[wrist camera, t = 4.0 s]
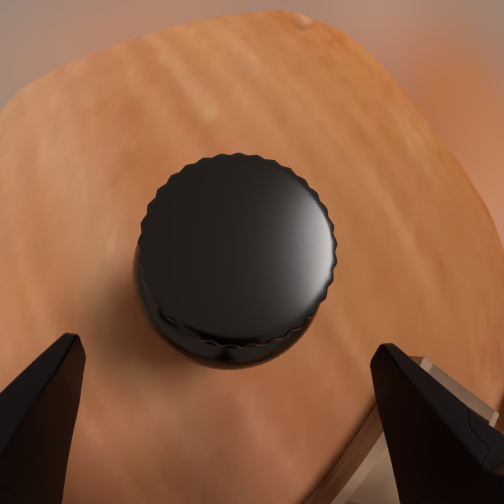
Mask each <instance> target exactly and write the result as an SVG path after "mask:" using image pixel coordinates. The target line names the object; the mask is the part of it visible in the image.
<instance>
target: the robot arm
mask: <svg viewBox="0 0 504 504" xmlns="http://www.w3.org/2000/svg"><path fill="white" fill-rule="evenodd" d="M85 360H86V355H85V351H84V348H83V345H82V343H81V340H80V337H79V336H78V335H77V334H73V333H65V334H63V335H62V336H61V337H60V338H59V339H57V340H56V341H55V342H54V343H53V344H52V345H51V346H50V347H49V348H47V349H46V350H45V351H44V352H43V353H42V354H41V355H40V356H39V357H38V358H37V359H35V360H34V361H33V362H32V363H31V364H30V365H29V366H28V367H27V368H26V369H25V370H24V371H23V372H22V373H21V374H19V375H18V376H17V377H16V378H15V379H14V380H13V381H12V382H11V383H10V384H9V385H8V386H7V387H6V388H5V389H4V390H3V391H2V392H1V393H0V504H62V498H63V490H64V483H65V476H66V469H67V463H68V457H69V451H70V446H71V441H72V436H73V431H74V426H75V421H76V417H77V412H78V408H79V402H80V395H81V387H82V380H83V373H84V366H85ZM370 368H371V374H372V380H373V385H374V391H375V397H376V403H377V408H378V412H379V416H380V420H381V424H382V427H383V431H384V435H385V439H386V443H387V447H388V451H389V456H390V460H391V464H392V468H393V473H394V477H395V482H396V487H397V492H398V496H399V501H400V504H504V435H503V434H501V433H500V432H499V431H497V430H496V429H495V428H493V427H492V426H491V425H489V424H488V423H487V422H485V421H484V420H483V419H482V418H480V417H479V416H478V415H477V414H476V413H474V412H473V411H472V410H471V409H470V408H467V406H466V405H465V404H464V403H463V402H462V401H460V400H459V399H458V398H457V397H456V396H455V395H454V394H452V393H451V392H450V391H449V390H448V389H447V388H445V387H444V386H443V385H442V384H441V383H439V382H438V381H437V380H436V379H435V378H434V377H432V376H431V375H430V374H429V373H428V372H427V371H425V370H424V369H423V368H422V367H421V366H419V365H418V364H417V363H416V362H415V361H413V360H412V359H411V358H410V357H409V356H408V355H406V354H405V353H404V352H403V351H402V350H400V349H399V348H398V347H397V346H396V345H394V344H393V343H385V344H381V345H380V346H379V347H378V349H377V351H376V352H375V354H374V356H373V358H372V359H371V363H370Z"/></svg>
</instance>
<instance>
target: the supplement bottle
mask: <svg viewBox="0 0 504 504" xmlns="http://www.w3.org/2000/svg"><path fill="white" fill-rule="evenodd" d="M333 231H334V225H333V223H332V221H331V220H330V219H329V217H328V210H327V208H326V206H325V205H324V204H323V203H322V202H321V201H320V199H319V196H318V193H317V192H316V191H314V190H313V189H311V188H310V187H309V186H308V183H307V182H306V180H305V179H303V178H301V177H299V176H297V175H296V174H295V173H294V172H293V171H292V169H291V168H288V167H284V166H281V165H280V164H279V163H278V162H276V161H275V160H269V159H264V158H262V157H260V156H258V155H249V156H248V155H245V154H242V153H235V154H232V155H226V154H219V155H216V156H215V157H213V158H202V159H200V160H199V161H198V162H196V163H194V164H188V165H186V166H185V167H184V168H183V169H182V170H181V171H180V172H178V173H175V174H173V175H171V176H170V178H169V179H168V182H167V183H166V184H165V185H163V186H162V187H160V188H159V189H158V190H157V193H156V197H155V199H153V200H152V201H151V202H150V203H149V204H148V206H147V215H146V216H145V217H144V219H143V220H142V222H141V232H142V233H141V235H140V237H139V239H138V242H137V246H136V250H135V254H134V259H133V269H132V274H133V288H134V293H135V298H136V301H137V304H138V307H139V310H140V312H141V314H142V316H143V318H144V320H145V322H146V323H147V325H148V327H149V328H150V329H151V331H152V332H153V334H154V335H155V336H156V337H157V338H158V339H159V340H160V341H161V342H162V343H163V344H164V345H165V346H166V347H167V348H169V349H170V350H171V351H173V352H174V353H175V354H177V355H179V356H180V357H182V358H184V359H186V360H188V361H190V362H192V363H195V364H198V365H201V366H204V367H208V368H213V369H221V370H238V369H246V368H251V367H255V366H258V365H262V364H264V363H266V362H269V361H271V360H273V359H275V358H277V357H279V356H280V355H282V354H283V353H285V352H286V351H287V350H289V349H290V348H291V347H292V346H293V345H295V344H296V343H297V342H298V341H299V339H300V338H301V337H302V336H303V335H304V334H305V332H306V331H307V330H308V328H309V327H310V325H311V324H312V322H313V320H314V318H315V316H316V314H317V312H318V309H319V306H320V303H321V302H323V301H324V300H325V299H326V296H327V289H328V287H329V286H330V285H331V283H332V282H333V276H334V275H333V269H334V267H335V266H336V264H337V258H336V254H335V250H336V247H337V241H336V239H335V237H334V234H333Z"/></svg>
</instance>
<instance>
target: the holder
mask: <svg viewBox="0 0 504 504" xmlns="http://www.w3.org/2000/svg"><path fill="white" fill-rule="evenodd" d="M409 357H410V358H411V359H412V360H413V361H415V362H416V363H417V364H418V365H419V366H421V367H422V368H423V369H424V370H425V371H427V372H428V373H429V374H430V375H431V376H432V377H434V378H435V379H436V380H437V381H438V382H439V383H441V384H442V385H443V386H444V387H445V388H447V389H448V390H449V391H450V392H451V393H452V394H454V395H455V396H456V397H457V398H458V399H459V400H460V401H462V402H463V403H464V404H465V405H466V406H467V408H470V409H471V410H472V411H473V412H474V413H476V414H477V415H478V416H479V417H480V418H482V419H483V420H484V421H485V422H487V423H488V424H489V425H491V426H492V427H494V425H495V423H496V421H497V418H498V416H499V414H498V413H497V412H496V411H495V410H493V409H492V408H491V407H489V406H488V405H487V404H485V403H484V402H483V401H482V400H480V399H479V398H478V397H476V396H475V395H474V394H472V393H471V392H470V391H468V390H467V389H466V388H464V387H463V386H462V385H461V384H459V383H458V382H457V381H455V380H454V379H453V378H451V377H450V376H449V375H447V374H446V373H445V372H443V371H442V370H441V369H439V368H438V367H437V366H435V365H434V364H433V363H431V362H430V361H429V360H427V359H426V358H425V357H415V356H409ZM304 504H400V501H399V496H398V492H397V487H396V482H395V477H394V473H393V468H392V464H391V460H390V456H389V451H388V447H387V443H386V439H385V435H384V431H383V427H382V424H381V420H380V416H379V412H378V408H377V403H376V405H375V406H374V408H373V410H372V411H371V413H370V415H369V416H368V418H367V419H366V421H365V422H364V424H363V426H362V427H361V429H360V430H359V432H358V433H357V435H356V436H355V438H354V439H353V441H352V442H351V443H350V445H349V446H348V448H347V449H346V451H345V452H344V453H343V455H342V456H341V458H340V459H339V460H338V462H337V463H336V464H335V466H334V467H333V468H332V470H331V471H330V472H329V474H328V475H327V476H326V477H325V479H324V480H323V481H322V482H321V484H320V485H319V486H318V487H317V489H316V490H315V491H314V492H313V493H312V495H311V496H310V497H309V498H308V499H307V500H306V502H305V503H304Z"/></svg>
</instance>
